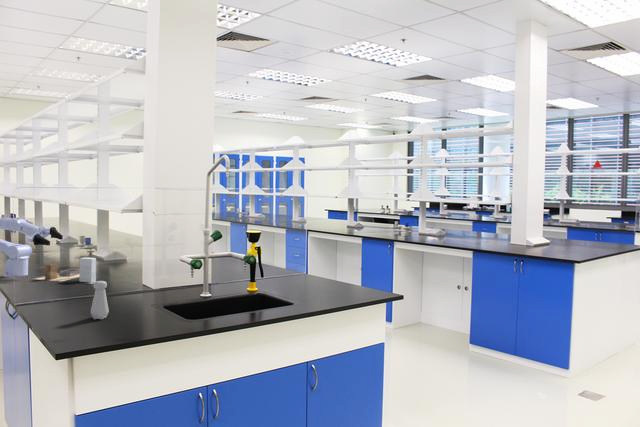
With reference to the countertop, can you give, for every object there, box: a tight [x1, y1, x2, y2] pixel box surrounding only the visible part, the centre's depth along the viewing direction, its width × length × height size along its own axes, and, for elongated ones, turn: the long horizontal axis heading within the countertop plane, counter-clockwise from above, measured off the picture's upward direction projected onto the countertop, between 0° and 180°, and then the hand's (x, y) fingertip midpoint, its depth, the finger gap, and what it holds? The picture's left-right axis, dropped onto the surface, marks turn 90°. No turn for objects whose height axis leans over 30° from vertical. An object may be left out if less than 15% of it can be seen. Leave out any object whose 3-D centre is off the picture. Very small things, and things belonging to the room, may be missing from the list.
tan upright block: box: [44, 263, 58, 281], centre depth 237 cm, size 3×4×7 cm, turn 169°
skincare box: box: [78, 257, 97, 285], centre depth 236 cm, size 6×4×12 cm
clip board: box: [33, 268, 80, 282], centre depth 245 cm, size 16×22×3 cm
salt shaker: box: [90, 280, 110, 320], centre depth 174 cm, size 6×6×13 cm
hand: (55, 240), depth 240 cm, fingers open, 7 cm apart
